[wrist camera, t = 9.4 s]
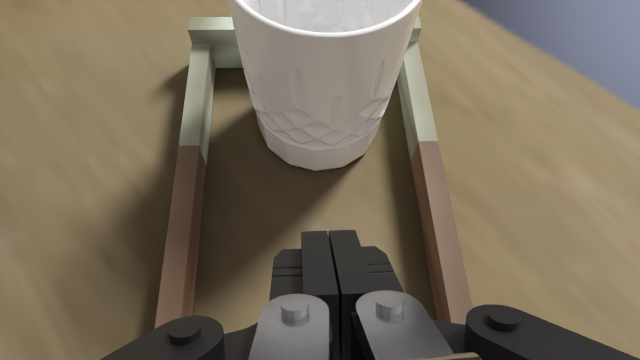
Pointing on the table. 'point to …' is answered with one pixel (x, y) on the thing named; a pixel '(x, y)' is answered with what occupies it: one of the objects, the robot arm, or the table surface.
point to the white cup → (321, 72)
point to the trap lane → (189, 182)
